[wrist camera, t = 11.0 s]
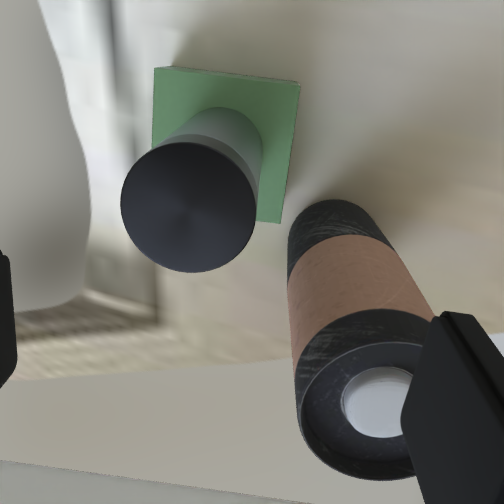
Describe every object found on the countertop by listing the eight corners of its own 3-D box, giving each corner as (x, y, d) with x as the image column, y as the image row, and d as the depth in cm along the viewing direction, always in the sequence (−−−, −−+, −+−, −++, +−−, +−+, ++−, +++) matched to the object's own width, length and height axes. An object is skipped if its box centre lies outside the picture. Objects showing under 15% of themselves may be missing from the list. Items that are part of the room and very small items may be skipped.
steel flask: (200, 91, 29) (149, 116, 17) (277, 131, 30) (280, 182, 18) (166, 168, 31) (100, 238, 19) (240, 204, 32) (220, 293, 20)
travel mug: (273, 272, 39) (274, 464, 21) (299, 184, 36) (325, 317, 18) (362, 293, 40) (439, 499, 21) (394, 208, 37) (515, 362, 18)
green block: (170, 65, 34) (154, 67, 29) (296, 81, 34) (300, 85, 29) (164, 189, 37) (149, 208, 32) (279, 203, 37) (280, 224, 32)
